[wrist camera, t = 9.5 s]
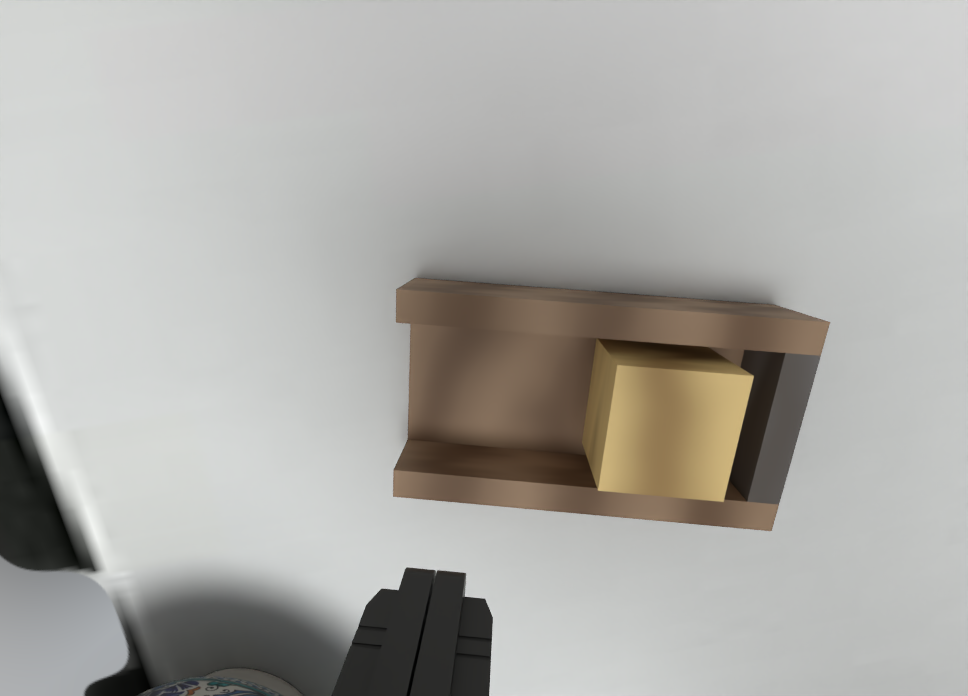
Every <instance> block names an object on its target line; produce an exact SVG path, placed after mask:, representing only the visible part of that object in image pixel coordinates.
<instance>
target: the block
mask: <svg viewBox="0 0 968 696" xmlns="http://www.w3.org/2000/svg"><path fill="white" fill-rule="evenodd" d="M753 378H754V376H753V375H751V374H750V373H748V372H747V371H745V370H744V369H742V368H740V367H739V366H737V365H736V364H734V363H732V362H731V361H729V360H728V359H726V358H725V357H723V356H721V355H720V354H718V353H717V352H715V351H713V350H712V349H710V348H709V347H703V346H690V345H677V344H664V343H652V342H639V341H626V340H613V339H601V338H597V339H596V346H595V353H594V360H593V367H592V375H591V382H590V389H589V396H588V403H587V410H586V418H585V425H584V432H583V439H582V444H583V447H584V450H585V453H586V456H587V459H588V462H589V465H590V468H591V471H592V474H593V477H594V480H595V483H596V486H597V489H598V491H607V492H618V493H630V494H641V495H652V496H663V497H674V498H685V499H697V500H708V501H719V502H724V498H725V494H726V490H727V486H728V481H729V477H730V473H731V469H732V465H733V461H734V457H735V453H736V448H737V444H738V440H739V436H740V432H741V428H742V424H743V419H744V415H745V411H746V407H747V403H748V399H749V395H750V391H751V386H752V382H753Z"/></svg>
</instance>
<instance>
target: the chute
mask: <svg viewBox="0 0 968 696" xmlns="http://www.w3.org/2000/svg"><path fill="white" fill-rule="evenodd" d="M396 322H397V323H409V324H411V331H410V372H409V413H408V440H407V442H406V445H405V447H404V449H403V451H402V453H401V455H400V458H399V460H398V462H397V464H396V466H395V468H394V478H393V497H404V498H415V499H426V500H437V501H448V502H459V503H470V504H481V505H492V506H502V507H513V508H524V509H535V510H546V511H557V512H568V513H579V514H590V515H601V516H612V517H623V518H634V519H645V520H656V521H667V522H678V523H689V524H700V525H711V526H722V527H732V528H743V529H754V530H765V531H772V527H773V524H774V520H775V517H776V513H777V509H778V506H779V502H780V499H781V495H782V492H783V488H784V484H785V481H786V477H787V474H788V470H789V467H790V463H791V460H792V456H793V452H794V449H795V445H796V442H797V438H798V435H799V431H800V427H801V424H802V420H803V417H804V413H805V410H806V406H807V402H808V399H809V395H810V392H811V388H812V385H813V381H814V378H815V374H816V370H817V367H818V363H819V360H820V356H821V353H822V349H823V345H824V342H825V338H826V335H827V331H828V328H829V324H830V322H828V321H824V320H821V319H818V318H815V317H812V316H808V315H805V314H802V313H799V312H796V311H793V310H789V309H786V308H783V307H780V306H777V305H769V304H756V303H743V302H729V301H716V300H703V299H689V298H676V297H663V296H649V295H636V294H623V293H609V292H596V291H583V290H569V289H556V288H543V287H529V286H516V285H503V284H489V283H476V282H463V281H449V280H436V279H423V278H414V279H413V280H411V281H409V282H408V283H406V284H404V285H403V286H401V287H399V288H398V289H396ZM597 338H601V339H613V340H626V341H639V342H652V343H664V344H677V345H690V346H703V347H709V348H710V349H712V350H713V351H715V352H717V353H718V354H720V355H721V356H723V357H725V358H726V359H728V360H729V361H731V362H732V363H734V364H736V365H737V366H739V367H740V368H742V369H744V370H745V371H747V372H748V373H750V374H751V375H753V376H754V378H753V382H752V386H751V391H750V395H749V399H748V403H747V407H746V411H745V415H744V419H743V424H742V428H741V432H740V436H739V440H738V444H737V448H736V453H735V457H734V461H733V465H732V469H731V473H730V477H729V481H728V486H727V490H726V494H725V498H724V502H719V501H708V500H697V499H685V498H674V497H663V496H652V495H641V494H630V493H618V492H607V491H598V489H597V486H596V483H595V480H594V477H593V474H592V471H591V468H590V465H589V462H588V459H587V456H586V453H585V450H584V447H583V444H582V439H583V432H584V425H585V418H586V410H587V403H588V396H589V389H590V382H591V375H592V367H593V360H594V353H595V346H596V339H597Z"/></svg>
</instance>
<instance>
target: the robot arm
mask: <svg viewBox="0 0 968 696" xmlns="http://www.w3.org/2000/svg"><path fill="white" fill-rule="evenodd" d="M465 584H466V573H459V572H449V571H439V570H438V571H437V573H436V571H435V570H427V569H417V568H406V569H405V572H404V575H403V578H402V581H401V585H400V588H399V590H390V589H381V590H380V591H379V592H378V593H377V594H376V595H375V596H374V597H373V598H372V599H371V601H370V602H369V603H368V604H367V605H366V607H365V610H364V613H363V615H362V618H361V620H360V623H359V627H358V629H357V631H356V634H355V636H354V639H353V641H352V646H351V647H350V649H349V652H348V654H347V657H346V660H345V662H344V665H343V668H342V670H341V673H340V675H339V678H338V681H337V683H336V686H335V688H334V691H333V694H332V696H489V686H490V665H491V644H492V643H491V642H492V623H493V617H492V615H491V612H490V610H489V607H488V605H487V603H486V600H485V599H481V598H471V597H465Z"/></svg>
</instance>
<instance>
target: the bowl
mask: <svg viewBox="0 0 968 696" xmlns="http://www.w3.org/2000/svg"><path fill="white" fill-rule="evenodd" d="M137 696H303V695H302V694H301V693H300V692H299V691H298V690H297V689H296V688H294V687H293V686H292V685H290V684H289V683H287V682H286V681H284V680H282V679H280V678H278V677H276V676H274V675H271V674H269V673H266V672H262V671H258V670H254V669H247V668H230V669H223V670H219V671H216V672H213V673H210V674H208V675H206V676H205V677H193V678H187V679H181V680H176V681H172V682H169V683H166V684H163V685H160V686H157V687H154V688H152V689H149V690H147V691H145V692H143V693H141V694H139V695H137Z"/></svg>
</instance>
